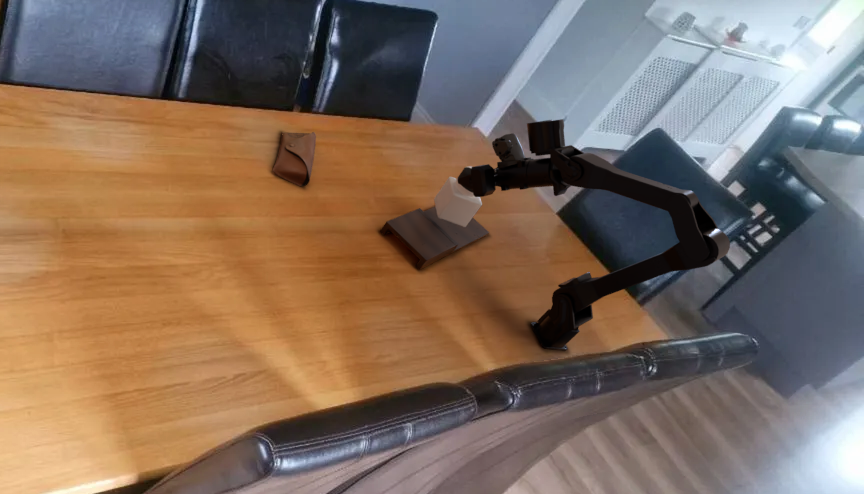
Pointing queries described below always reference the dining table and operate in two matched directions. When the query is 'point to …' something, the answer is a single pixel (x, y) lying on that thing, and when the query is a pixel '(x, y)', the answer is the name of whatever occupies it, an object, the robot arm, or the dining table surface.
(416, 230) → the step shelf
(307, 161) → the sunglasses case
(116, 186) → the dining table surface
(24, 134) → the dining table surface
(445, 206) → the medicine bottle
